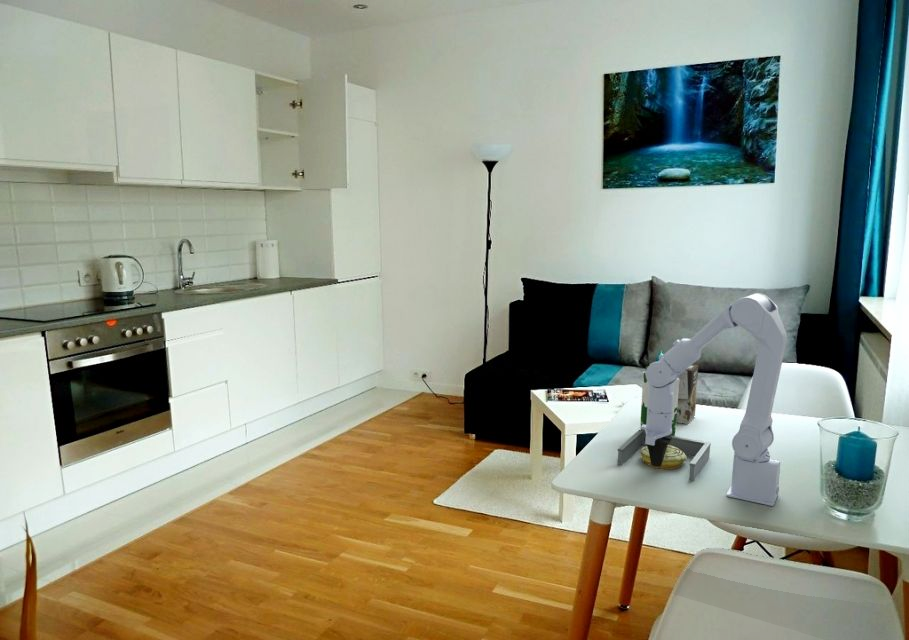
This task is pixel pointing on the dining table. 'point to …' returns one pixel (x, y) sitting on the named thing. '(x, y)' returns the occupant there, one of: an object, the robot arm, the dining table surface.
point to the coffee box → (687, 394)
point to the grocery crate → (688, 446)
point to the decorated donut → (666, 457)
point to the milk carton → (645, 402)
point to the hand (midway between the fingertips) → (656, 465)
